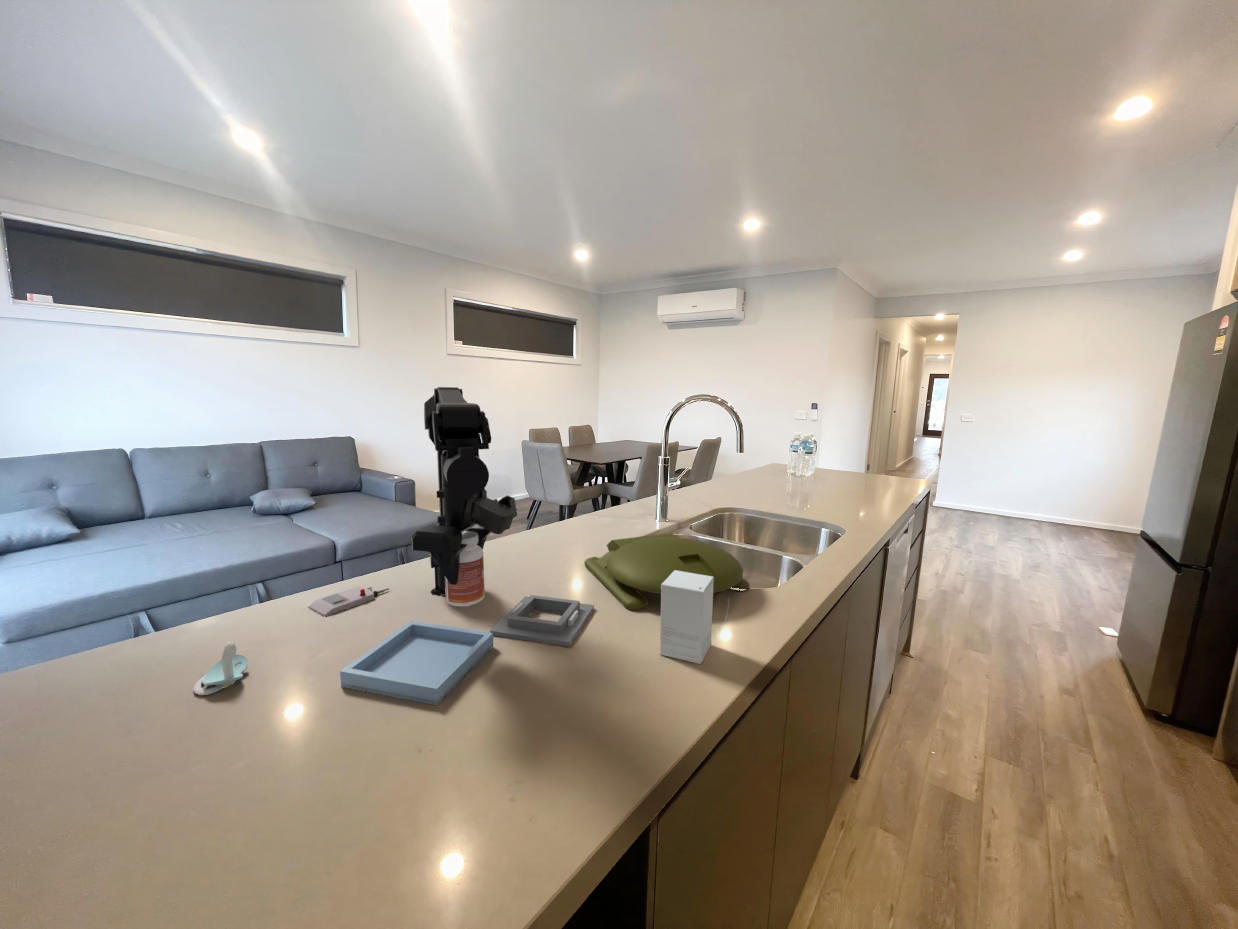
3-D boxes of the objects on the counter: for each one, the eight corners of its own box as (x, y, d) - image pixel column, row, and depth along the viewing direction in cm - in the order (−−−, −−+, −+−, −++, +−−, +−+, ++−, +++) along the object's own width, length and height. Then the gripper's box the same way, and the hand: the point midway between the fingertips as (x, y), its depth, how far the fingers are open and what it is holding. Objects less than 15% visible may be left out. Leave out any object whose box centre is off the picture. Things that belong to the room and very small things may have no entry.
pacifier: (187, 704, 67) (241, 691, 70) (179, 663, 66) (234, 651, 69) (202, 676, 73) (251, 665, 76) (196, 638, 72) (245, 628, 75)
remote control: (298, 614, 94) (296, 599, 94) (375, 587, 107) (374, 574, 107) (314, 623, 91) (313, 608, 90) (392, 594, 104) (392, 581, 103)
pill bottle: (492, 600, 80) (490, 535, 78) (457, 611, 76) (454, 543, 74) (473, 588, 84) (471, 527, 83) (439, 599, 80) (436, 534, 78)
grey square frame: (490, 634, 86) (489, 622, 86) (525, 600, 101) (525, 589, 101) (569, 646, 83) (569, 633, 83) (594, 608, 97) (594, 597, 97)
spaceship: (581, 565, 122) (581, 528, 121) (686, 551, 134) (687, 517, 133) (641, 629, 91) (643, 579, 89) (772, 603, 103) (775, 559, 101)
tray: (341, 686, 71) (339, 671, 70) (411, 634, 86) (411, 621, 86) (437, 705, 67) (436, 688, 67) (493, 646, 83) (493, 633, 82)
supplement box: (712, 644, 85) (715, 576, 83) (700, 666, 78) (704, 592, 76) (672, 635, 88) (674, 568, 86) (657, 654, 81) (660, 583, 79)
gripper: (478, 499, 66) (481, 606, 69) (531, 476, 84) (531, 561, 87) (406, 494, 69) (412, 598, 71) (472, 472, 87) (475, 556, 89)
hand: (464, 576), depth 79 cm, fingers closed on pill bottle, 6 cm apart
